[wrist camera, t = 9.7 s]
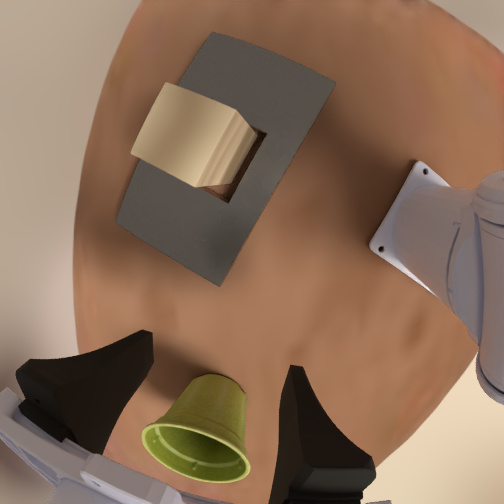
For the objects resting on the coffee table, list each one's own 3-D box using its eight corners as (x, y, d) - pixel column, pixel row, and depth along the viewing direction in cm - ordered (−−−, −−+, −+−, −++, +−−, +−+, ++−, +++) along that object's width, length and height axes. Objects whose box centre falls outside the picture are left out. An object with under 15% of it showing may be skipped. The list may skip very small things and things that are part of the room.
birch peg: (257, 135, 19) (236, 110, 11) (231, 183, 20) (194, 187, 12) (211, 113, 19) (165, 81, 11) (186, 159, 20) (130, 153, 12)
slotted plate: (333, 89, 17) (336, 83, 15) (224, 279, 22) (219, 287, 20) (217, 39, 17) (212, 31, 15) (124, 219, 22) (115, 222, 20)
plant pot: (173, 407, 27) (144, 461, 19) (176, 347, 24) (136, 408, 16) (251, 429, 26) (238, 490, 18) (272, 374, 24) (262, 447, 15)
